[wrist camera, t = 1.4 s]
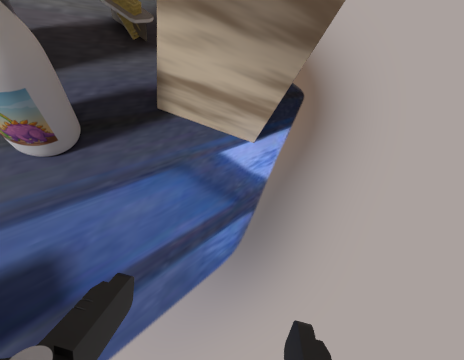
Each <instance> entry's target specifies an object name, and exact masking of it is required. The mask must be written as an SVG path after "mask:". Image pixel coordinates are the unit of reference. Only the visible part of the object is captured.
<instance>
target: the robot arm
mask: <svg viewBox="0 0 464 360" xmlns="http://www.w3.org/2000/svg"><path fill="white" fill-rule="evenodd" d="M0 1H1V2H2V3H3V4H4V5H5V6H6V7H7V8H8V9H9V10H10V11H11V12H12V13H13V14H15V12H14V10H13V8H12V6H11V4H10V2H9V0H0ZM15 15H16V14H15ZM133 290H134V277H133V276H129V275H126V274H122V273H117V274H116V275H115V276H114V277H113V278H112V280H111V281H110V282H109V283H108V282H104V281H103V282H101V283H100V284H98V285H96V286H95V287H93V288H91V289H90V290H89V291H88V293H87V294H86V295H85V296H84V297H83V298H82V300H80V301H79V302H78V303H77V304H76V305H75V307H74V308H72V309H71V310H70V311H69V313H68V314H67V315H66V316H65V317H64V318H63V319H62V320H61V321H60V322H59V323H58V324H57V325H56V326H55V327H54V328H53V329H52V330H51V331H50V333H49V334H48V335H47V336H46V337H45V338H44V339H43V340H42V341H41V342H40V343H39V344H37V345H36V346H33V347H30V348H27V349H25V350H23V351H21V352H19V353H17V354H16V355H15V356H13V357H11V358H5V359H0V360H97V359H98V357H99V356H100V354H101V353H102V351H103V350H104V348H105V347H106V345H107V344H108V342H109V341H110V339H111V338H112V336H113V335H114V333H115V332H116V330H117V329H118V327H119V325H120V324H121V322H122V321H123V319H124V318H125V316H126V315H127V313H128V311H129V310H130V307H131V305H132V301H133ZM284 360H332V359H331V355H330V353H329V351H328V350H327V348H326V346H325V345H324V343H323V341H320V340H316V339H315V335H314V330H313V327H312V325H311V324H307V323H303V322H299V321H294V322H293V325H292V327H291V330H290V333H289V335H288V338H287V340H286V343H285V348H284Z"/></svg>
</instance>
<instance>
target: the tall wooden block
mask: <svg viewBox="0 0 464 360" xmlns="http://www.w3.org/2000/svg"><path fill="white" fill-rule="evenodd" d="M344 2H345V0H157V108H158V109H161V110H164V111H166V112H169V113H172V114H175V115H178V116H180V117H183V118H186V119H189V120H191V121H194V122H197V123H200V124H203V125H205V126H208V127H211V128H214V129H216V130H219V131H222V132H225V133H228V134H230V135H233V136H236V137H239V138H242V139H244V140H247V141H250V142H253V143H254V141H255V140H256V138H257V137H258V135H259V134H260V132H261V130H262V129H263V127H264V126H265V124H266V123H267V121H268V120H269V118H270V117H271V115H272V113H273V112H274V110H275V109H276V107H277V106H278V104H279V103H280V101H281V99H282V98H283V96H284V95H285V93H286V92H287V90H288V89H289V87H290V85H291V84H292V82H293V81H294V79H295V77H296V76H297V75H298V73H299V71H300V70H301V68H302V67H303V65H304V64H305V62H306V61H307V59H308V58H309V56H310V54H311V53H312V51H313V50H314V48H315V47H316V45H317V44H318V42H319V40H320V39H321V37H322V36H323V34H324V33H325V31H326V29H327V28H328V26H329V25H330V23H331V22H332V20H333V19H334V17H335V15H336V14H337V12H338V11H339V9H340V8H341V6H342V5H343V3H344Z"/></svg>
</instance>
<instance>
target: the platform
mask: <svg viewBox="0 0 464 360" xmlns="http://www.w3.org/2000/svg"><path fill="white" fill-rule="evenodd" d="M100 1H101V2H103V3H104V4H106V5H107V6H109V7H110V8H111V13H112V18H113V19H114V20H116V21H117V22H119V23H120V24H122V25H123V26H125V28H126V29H127V31H128V32H129V34H130V35H131V37H132V38H133V40H134V39H136V38H138V37H141V38H142V39H144V40H145V41H147V27H146V23H147V22H151V21H153V15H152V14H150V13H149V12H147V11H146V10H145V9H143V8H142V7H141V2H139V1H138V0H134V1H135V2H136V3H134V1H133V0H100ZM133 32H134V33H133ZM134 35H136V36H134Z"/></svg>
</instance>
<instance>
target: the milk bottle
mask: <svg viewBox="0 0 464 360" xmlns="http://www.w3.org/2000/svg"><path fill="white" fill-rule="evenodd" d="M80 130H81V129H80V125H79V122H78V120H77V117H76V115H75V113H74V111H73V109H72V106H71V104H70V102H69V100H68V98H67V96H66V94H65V91H64V89H63V87H62V85H61V83H60V81H59V79H58V77H57V75H56V73H55V70H54V68H53V66H52V64H51V63H50V61H49V59H48V57H47V55H46V53H45V51H44V49H43V48H42V46H41V44H40V43H39V41H38V40H37V39H36V37H35V36H34V35H33V33H32V32H31V31H30V30H29V29H28V27H27V26H26V25H25V24H24V23H23V22H22V21H21V20H20V19H19V18H18V17H17V16H16V15H15V14H13V13H12V12H11V11H10V10H9V9H8V8H7V7H6V6H5V5H4V4H3V3H2V2H1V1H0V134H1V135H2V136H3V137H4V138H5V139H6V140H7V141H8V142H9V143H10V144H11V145H12V146H13V147H15V148H16V149H17V150H19V151H20V152H23V153H25V154H28V155H32V156H40V157H46V156H53V155H58V154H60V153H63V152H65V151H67V150H69V149H70V148H71V147H73V146H74V144H75V143H76V142H77V140H78V139H79V136H80Z"/></svg>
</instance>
